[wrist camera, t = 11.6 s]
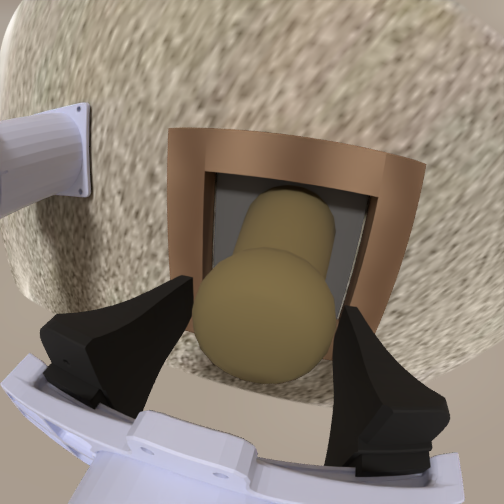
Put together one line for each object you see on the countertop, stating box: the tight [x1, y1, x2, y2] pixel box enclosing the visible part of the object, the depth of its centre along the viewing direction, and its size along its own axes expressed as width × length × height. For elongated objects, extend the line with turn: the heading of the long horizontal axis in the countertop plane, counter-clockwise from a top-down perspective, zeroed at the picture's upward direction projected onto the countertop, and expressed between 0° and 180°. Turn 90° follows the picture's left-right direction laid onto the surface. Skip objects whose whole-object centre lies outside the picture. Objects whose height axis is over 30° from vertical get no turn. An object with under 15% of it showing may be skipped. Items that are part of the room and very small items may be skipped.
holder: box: [167, 128, 426, 360], centre depth 18 cm, size 15×15×2 cm
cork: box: [192, 185, 336, 384], centre depth 13 cm, size 6×6×11 cm
